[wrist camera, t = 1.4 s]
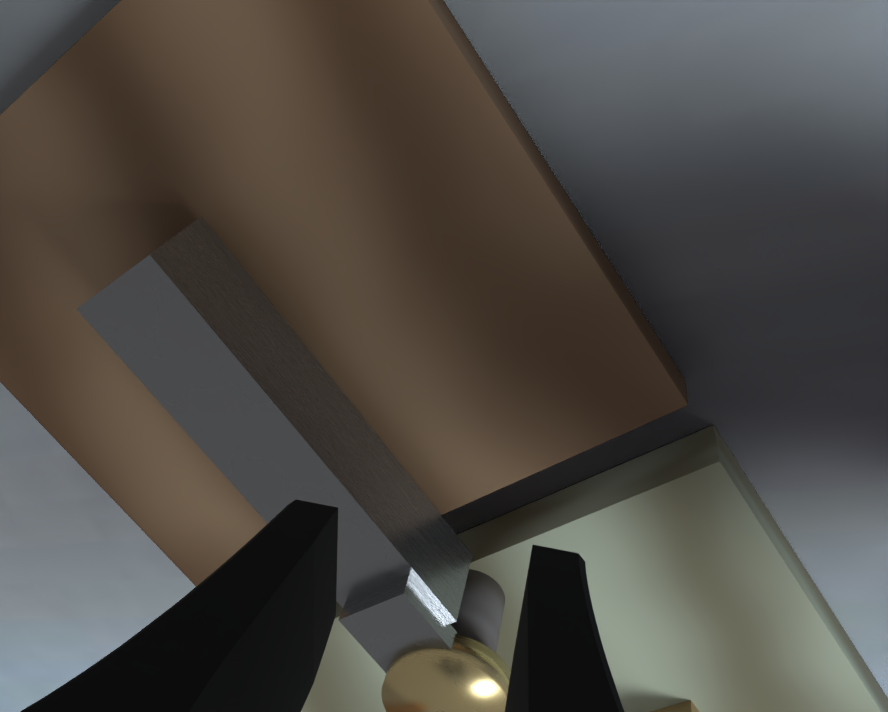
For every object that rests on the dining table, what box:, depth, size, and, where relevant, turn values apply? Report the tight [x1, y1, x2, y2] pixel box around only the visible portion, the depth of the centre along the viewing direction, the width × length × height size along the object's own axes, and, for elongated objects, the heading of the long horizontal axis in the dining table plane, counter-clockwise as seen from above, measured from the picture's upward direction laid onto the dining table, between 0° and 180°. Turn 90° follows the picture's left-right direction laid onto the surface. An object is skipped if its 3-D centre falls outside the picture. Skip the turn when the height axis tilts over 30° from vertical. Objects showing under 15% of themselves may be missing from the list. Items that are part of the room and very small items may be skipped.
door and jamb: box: [0, 0, 888, 712], centre depth 22 cm, size 16×28×4 cm, turn 36°
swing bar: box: [77, 216, 511, 712], centre depth 20 cm, size 14×3×3 cm, turn 36°
